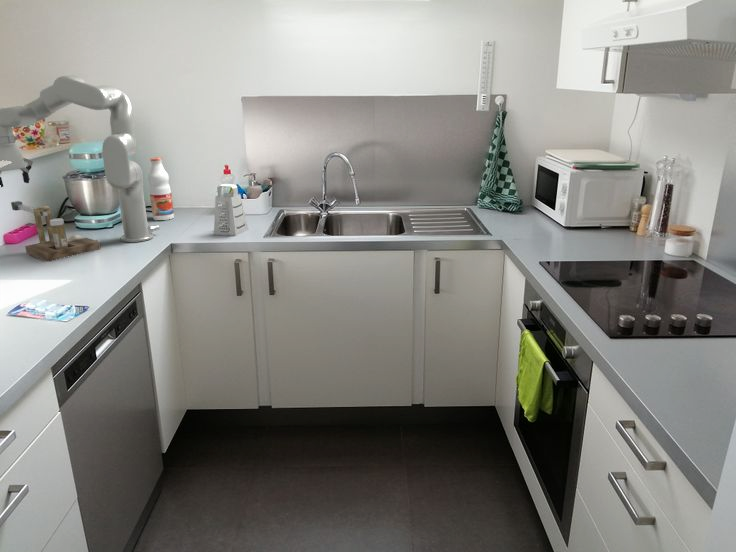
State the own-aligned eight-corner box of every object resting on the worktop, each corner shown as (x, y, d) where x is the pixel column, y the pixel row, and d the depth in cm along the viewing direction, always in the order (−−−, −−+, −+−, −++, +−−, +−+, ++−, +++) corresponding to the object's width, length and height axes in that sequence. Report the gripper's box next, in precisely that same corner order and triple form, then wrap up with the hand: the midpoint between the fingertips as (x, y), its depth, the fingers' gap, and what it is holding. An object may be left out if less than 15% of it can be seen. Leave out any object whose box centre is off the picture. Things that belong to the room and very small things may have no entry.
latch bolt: (20, 208, 239) (18, 201, 238) (50, 216, 224) (48, 209, 223) (12, 209, 237) (10, 202, 236) (42, 218, 222) (40, 210, 221)
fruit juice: (165, 215, 281) (157, 156, 272) (178, 217, 276) (171, 157, 267) (148, 219, 274) (140, 158, 264) (162, 222, 269) (154, 160, 259)
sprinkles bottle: (70, 254, 222) (64, 219, 217) (57, 256, 219) (50, 221, 215) (68, 251, 225) (62, 217, 221) (55, 253, 223) (48, 219, 218)
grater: (235, 235, 244) (231, 187, 238) (213, 234, 247) (209, 186, 241) (248, 229, 254) (244, 183, 247) (227, 228, 257) (222, 182, 250)
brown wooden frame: (78, 242, 238) (71, 201, 233) (100, 249, 228) (93, 207, 223) (26, 253, 223) (17, 211, 218) (47, 261, 213) (38, 217, 208)
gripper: (22, 138, 237) (32, 180, 243) (-25, 143, 225) (-14, 187, 230) (31, 138, 233) (40, 182, 238) (-17, 143, 220) (-6, 189, 226)
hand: (14, 184), depth 234 cm, fingers open, 9 cm apart
